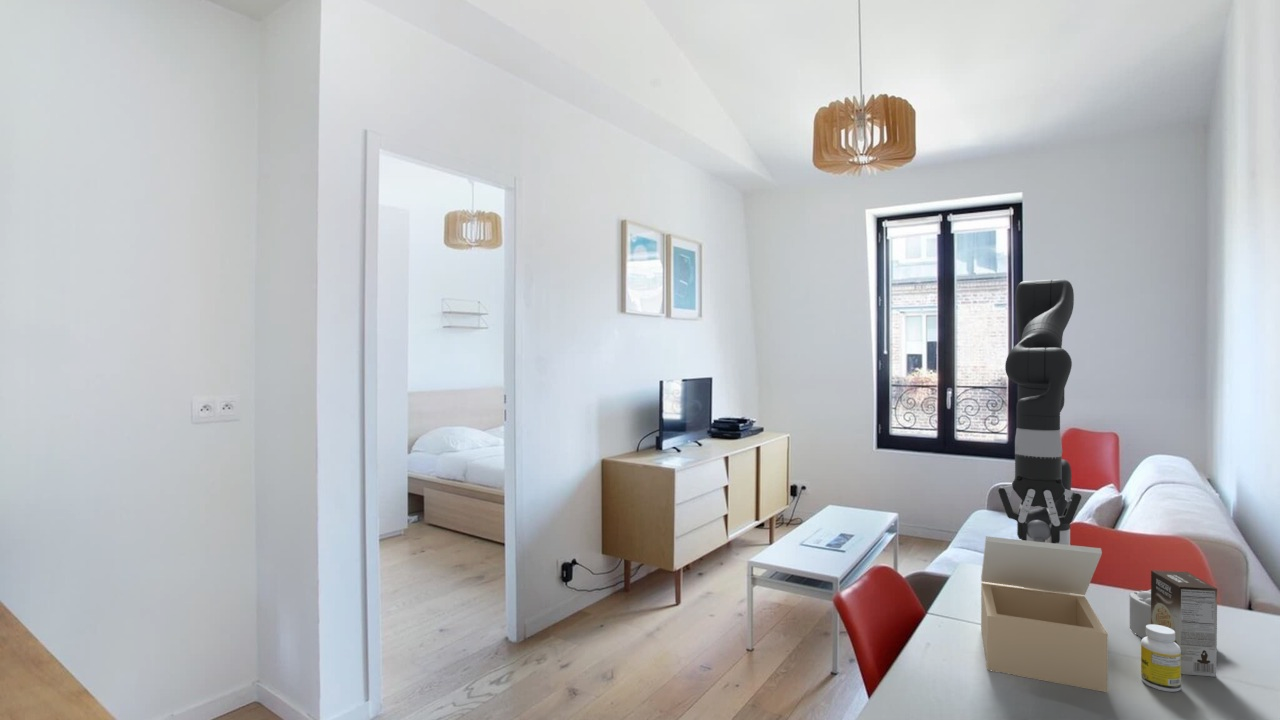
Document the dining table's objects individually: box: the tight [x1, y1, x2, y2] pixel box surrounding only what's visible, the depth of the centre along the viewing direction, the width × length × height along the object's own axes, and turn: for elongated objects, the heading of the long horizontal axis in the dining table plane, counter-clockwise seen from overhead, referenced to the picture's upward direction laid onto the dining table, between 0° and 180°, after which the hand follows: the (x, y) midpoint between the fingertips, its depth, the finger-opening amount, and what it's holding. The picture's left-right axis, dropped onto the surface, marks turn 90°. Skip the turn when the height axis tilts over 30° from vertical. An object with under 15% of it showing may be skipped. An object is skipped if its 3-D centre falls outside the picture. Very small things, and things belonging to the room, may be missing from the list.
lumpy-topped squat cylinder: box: [1129, 589, 1151, 639], centre depth 130 cm, size 10×13×9 cm
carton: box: [980, 581, 1109, 693], centre depth 121 cm, size 19×18×10 cm
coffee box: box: [1150, 569, 1218, 678], centre depth 118 cm, size 9×6×16 cm
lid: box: [980, 520, 1103, 596], centre depth 124 cm, size 19×18×6 cm
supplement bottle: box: [1140, 624, 1182, 693], centre depth 111 cm, size 5×5×10 cm
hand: (1037, 542), depth 120 cm, fingers closed on lid, 4 cm apart
